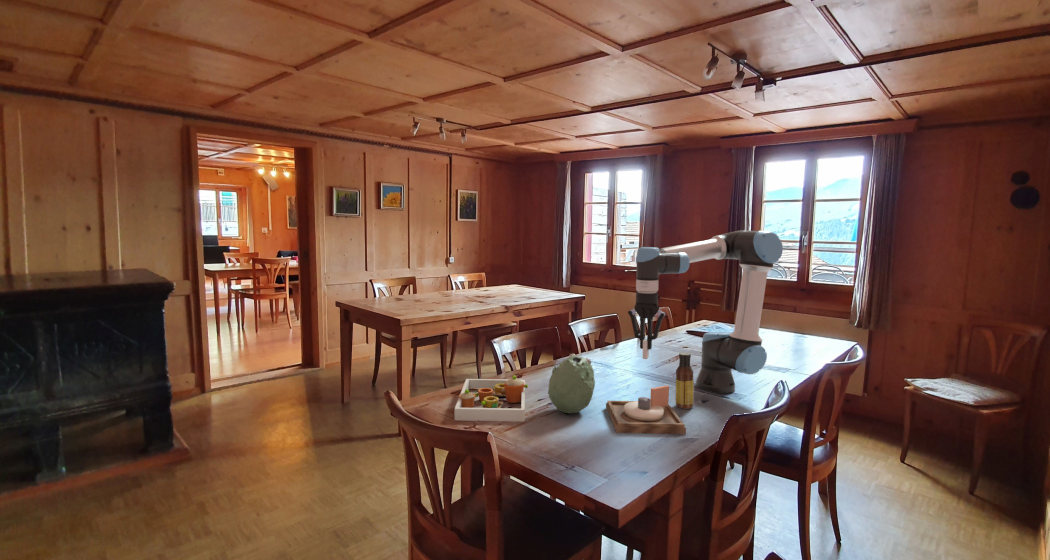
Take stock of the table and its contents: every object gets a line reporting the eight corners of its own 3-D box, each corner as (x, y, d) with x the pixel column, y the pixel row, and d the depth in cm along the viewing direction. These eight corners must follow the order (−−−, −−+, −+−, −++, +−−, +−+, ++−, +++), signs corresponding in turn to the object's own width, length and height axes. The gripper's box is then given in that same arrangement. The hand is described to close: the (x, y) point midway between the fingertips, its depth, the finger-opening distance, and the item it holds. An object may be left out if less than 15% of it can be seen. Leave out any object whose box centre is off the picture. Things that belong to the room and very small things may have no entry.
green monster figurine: (538, 415, 176) (539, 358, 174) (562, 399, 192) (564, 347, 190) (580, 425, 168) (581, 366, 166) (601, 408, 184) (603, 353, 182)
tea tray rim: (524, 389, 204) (524, 379, 203) (524, 421, 170) (524, 409, 170) (466, 388, 204) (466, 378, 203) (454, 420, 170) (454, 408, 170)
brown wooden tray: (666, 409, 184) (667, 401, 184) (685, 434, 162) (686, 424, 162) (605, 408, 184) (606, 400, 184) (616, 432, 162) (617, 423, 162)
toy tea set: (502, 390, 202) (502, 366, 201) (531, 399, 191) (532, 374, 190) (451, 407, 182) (451, 381, 181) (481, 418, 172) (481, 390, 171)
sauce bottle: (693, 405, 189) (695, 352, 187) (692, 410, 183) (695, 356, 181) (674, 402, 191) (677, 350, 189) (673, 408, 185) (676, 354, 183)
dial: (643, 423, 164) (644, 399, 163) (616, 410, 175) (616, 388, 174) (681, 413, 173) (682, 391, 172) (653, 402, 184) (654, 380, 183)
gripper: (625, 292, 177) (624, 358, 179) (663, 294, 171) (661, 362, 174) (631, 289, 183) (630, 353, 186) (668, 291, 178) (666, 357, 180)
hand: (645, 357), depth 180 cm, fingers closed
